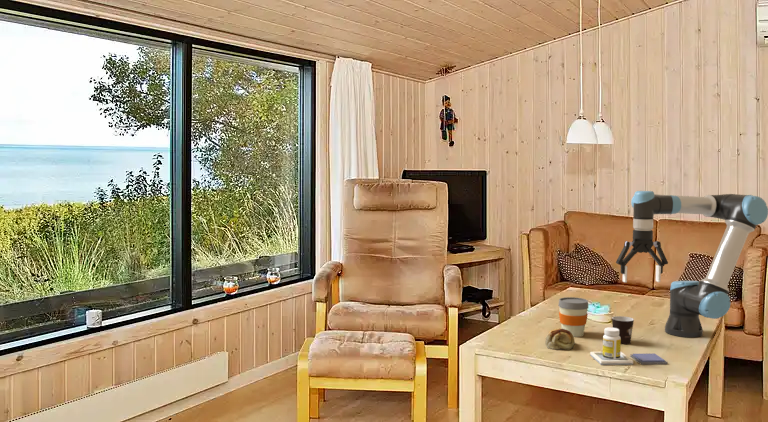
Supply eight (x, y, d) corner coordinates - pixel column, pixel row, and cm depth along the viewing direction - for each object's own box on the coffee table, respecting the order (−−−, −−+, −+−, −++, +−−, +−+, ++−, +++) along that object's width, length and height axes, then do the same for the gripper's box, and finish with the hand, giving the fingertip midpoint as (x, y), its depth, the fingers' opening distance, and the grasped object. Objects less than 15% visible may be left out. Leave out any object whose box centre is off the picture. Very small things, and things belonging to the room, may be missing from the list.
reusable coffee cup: (584, 330, 295) (585, 297, 294) (590, 338, 283) (591, 303, 281) (555, 330, 296) (556, 296, 295) (560, 337, 284) (561, 303, 283)
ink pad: (655, 356, 257) (655, 352, 257) (667, 364, 247) (667, 360, 247) (630, 356, 257) (630, 353, 257) (641, 364, 247) (641, 361, 247)
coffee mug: (619, 345, 271) (620, 321, 271) (606, 340, 280) (607, 316, 279) (643, 343, 274) (644, 319, 274) (630, 338, 283) (631, 315, 282)
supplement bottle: (616, 355, 256) (617, 326, 255) (622, 360, 250) (623, 331, 249) (599, 355, 256) (600, 327, 255) (605, 361, 249) (606, 331, 248)
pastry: (555, 352, 263) (555, 332, 262) (537, 344, 275) (537, 325, 274) (584, 348, 268) (585, 329, 267) (566, 340, 280) (566, 322, 279)
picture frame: (620, 355, 259) (620, 351, 259) (633, 364, 247) (633, 360, 247) (590, 355, 258) (590, 351, 258) (601, 365, 247) (601, 361, 246)
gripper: (669, 228, 270) (667, 279, 272) (608, 228, 270) (607, 280, 271) (678, 230, 263) (676, 283, 265) (615, 230, 262) (614, 283, 264)
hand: (641, 281), depth 268 cm, fingers open, 13 cm apart
